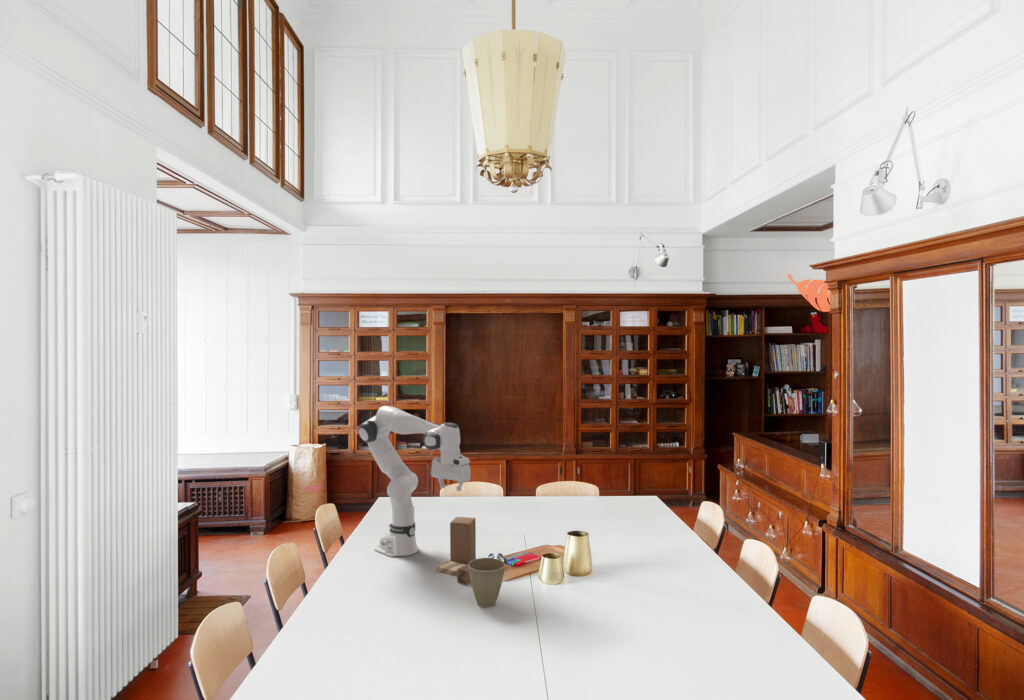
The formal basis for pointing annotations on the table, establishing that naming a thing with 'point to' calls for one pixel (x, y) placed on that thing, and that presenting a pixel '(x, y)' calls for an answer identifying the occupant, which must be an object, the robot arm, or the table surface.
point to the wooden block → (462, 540)
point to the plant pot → (486, 580)
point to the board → (449, 567)
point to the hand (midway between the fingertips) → (450, 489)
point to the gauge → (463, 575)
